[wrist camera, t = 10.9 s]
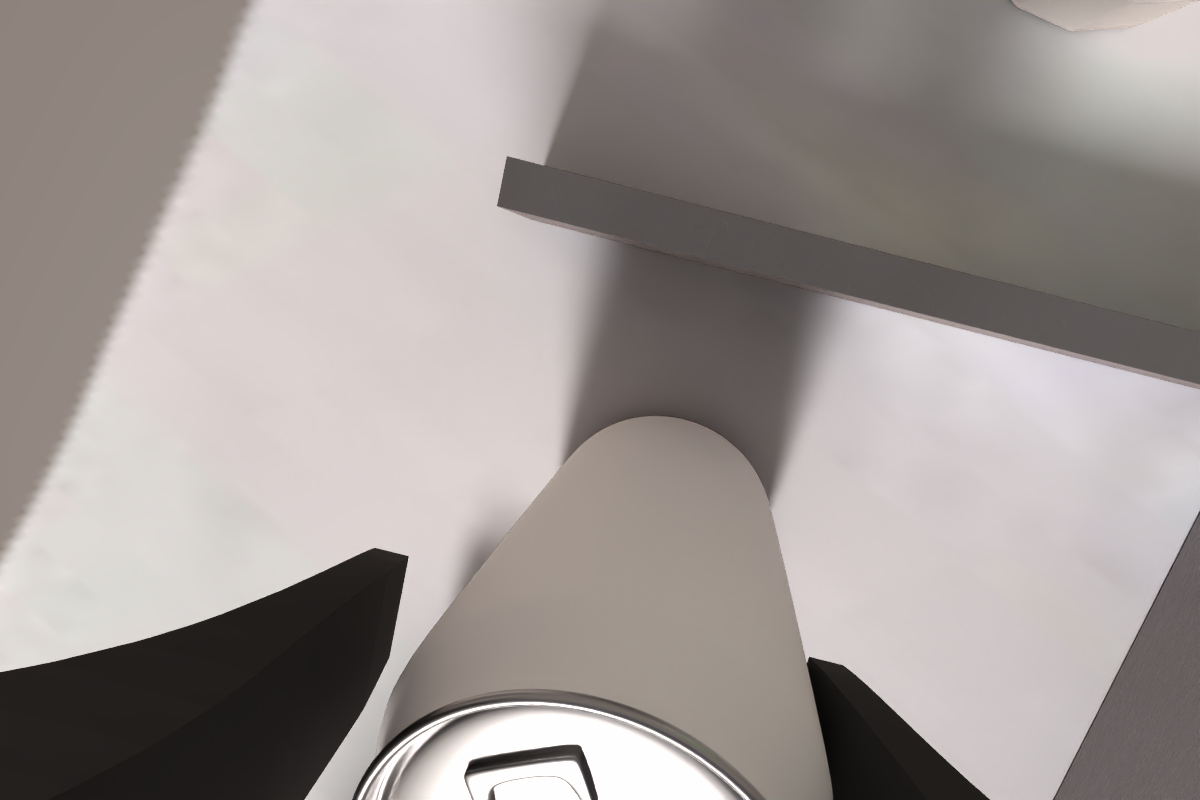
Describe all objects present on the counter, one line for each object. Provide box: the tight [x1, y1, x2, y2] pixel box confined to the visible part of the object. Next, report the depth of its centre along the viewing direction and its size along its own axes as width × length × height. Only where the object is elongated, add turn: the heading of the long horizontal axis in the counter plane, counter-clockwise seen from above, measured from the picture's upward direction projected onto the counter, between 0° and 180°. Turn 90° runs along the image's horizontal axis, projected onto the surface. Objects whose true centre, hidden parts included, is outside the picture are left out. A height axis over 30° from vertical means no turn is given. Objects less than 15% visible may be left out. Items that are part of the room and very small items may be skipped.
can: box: [352, 416, 833, 800], centre depth 13 cm, size 6×6×12 cm
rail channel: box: [497, 156, 1200, 800], centre depth 18 cm, size 22×26×4 cm
